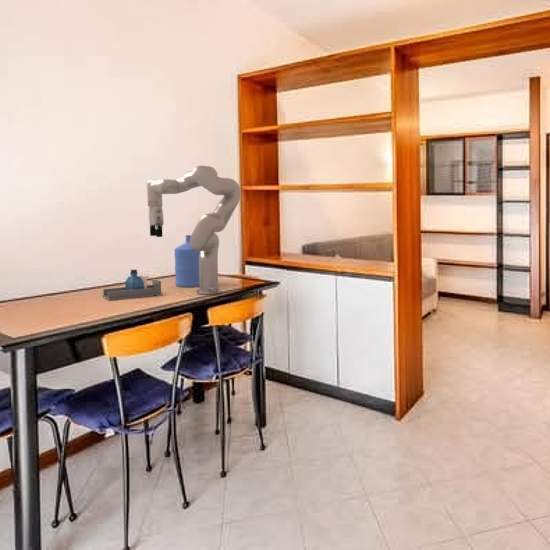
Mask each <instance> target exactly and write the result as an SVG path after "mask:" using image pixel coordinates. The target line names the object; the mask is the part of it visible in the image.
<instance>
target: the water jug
mask: <svg viewBox="0 0 550 550" xmlns="http://www.w3.org/2000/svg"><path fill="white" fill-rule="evenodd" d="M191 235H192V234H191ZM191 235H189V234H187V235H185V243H183V244H180V245H179V246H177V247H175V248H174V272H175V286H176V287H178V286H181V287H180V288H196V287H195V286H198V287H200V286H199V254H200V251H195V250H193V249H192V248H191V246H190V237H191Z"/></svg>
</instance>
